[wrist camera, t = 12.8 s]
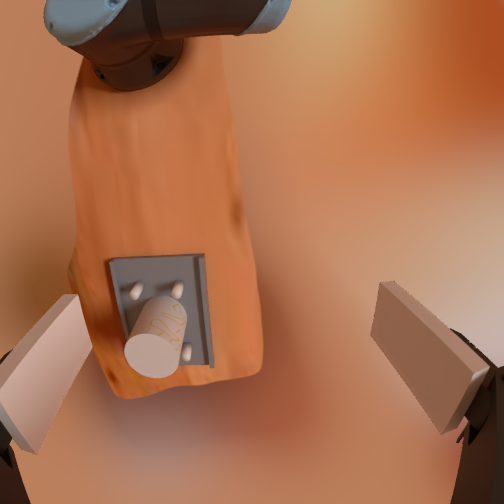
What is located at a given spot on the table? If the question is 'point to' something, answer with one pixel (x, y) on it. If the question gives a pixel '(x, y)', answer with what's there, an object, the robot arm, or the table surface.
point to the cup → (157, 338)
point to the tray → (172, 285)
